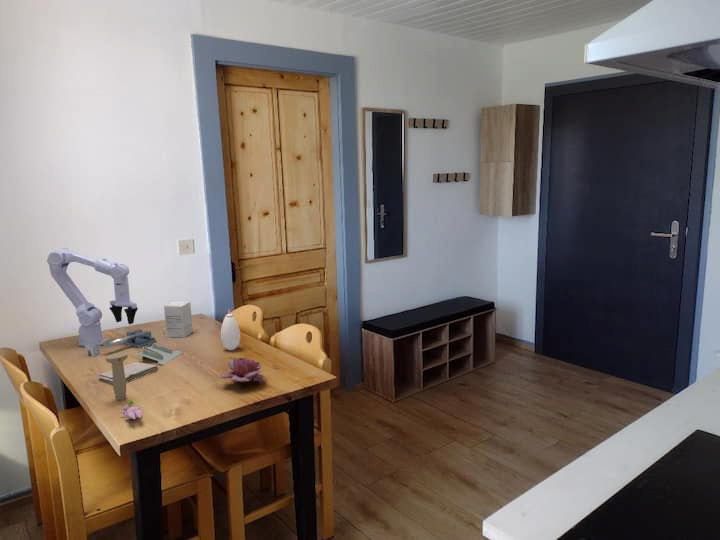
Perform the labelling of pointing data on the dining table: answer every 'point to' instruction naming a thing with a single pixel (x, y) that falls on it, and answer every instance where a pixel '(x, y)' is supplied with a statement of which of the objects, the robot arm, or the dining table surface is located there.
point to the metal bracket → (159, 354)
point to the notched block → (92, 349)
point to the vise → (133, 339)
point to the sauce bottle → (230, 332)
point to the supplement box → (178, 319)
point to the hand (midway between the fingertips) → (125, 322)
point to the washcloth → (130, 372)
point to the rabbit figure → (131, 410)
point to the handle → (118, 374)
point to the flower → (244, 370)
